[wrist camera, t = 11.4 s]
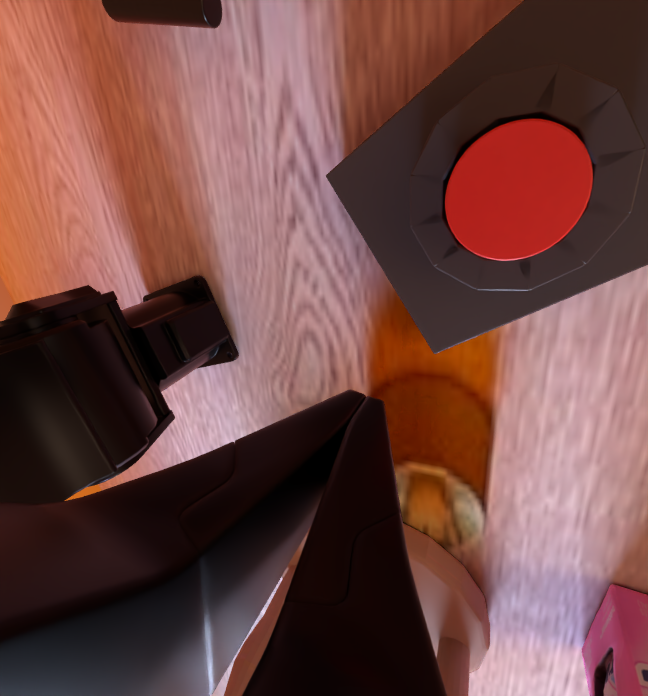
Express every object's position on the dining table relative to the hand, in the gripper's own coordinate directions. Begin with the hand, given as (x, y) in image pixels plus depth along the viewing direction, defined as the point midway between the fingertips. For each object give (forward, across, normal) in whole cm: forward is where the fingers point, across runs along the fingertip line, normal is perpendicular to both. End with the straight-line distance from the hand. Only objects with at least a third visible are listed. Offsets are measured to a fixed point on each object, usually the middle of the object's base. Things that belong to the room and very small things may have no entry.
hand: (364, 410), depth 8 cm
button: (+8, -2, -5) cm, 10 cm away
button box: (+12, -2, -5) cm, 14 cm away
